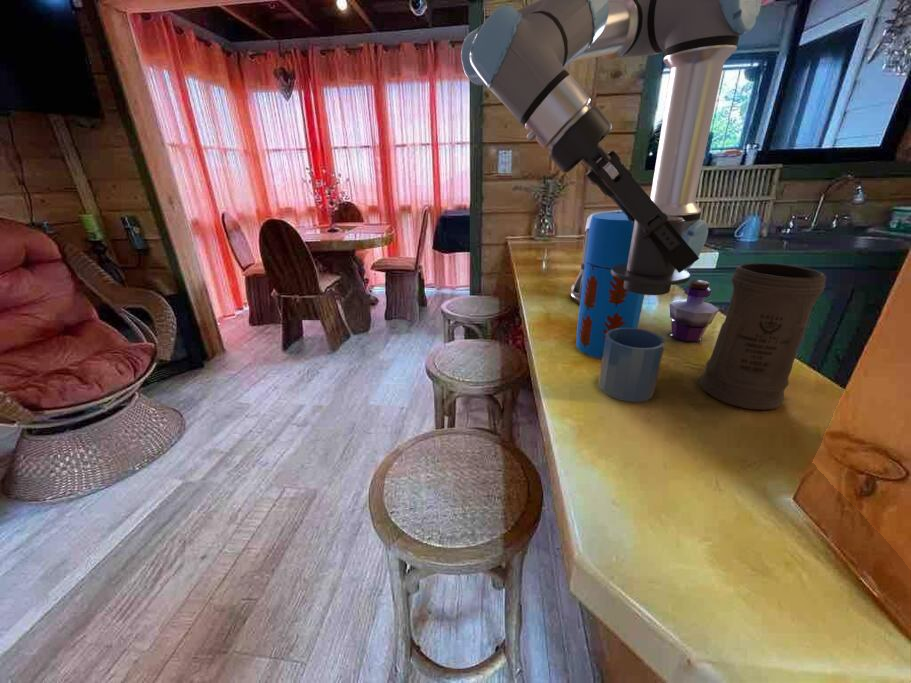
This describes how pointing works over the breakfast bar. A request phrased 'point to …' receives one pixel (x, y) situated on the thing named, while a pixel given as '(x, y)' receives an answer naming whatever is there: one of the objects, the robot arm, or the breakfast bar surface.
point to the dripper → (649, 264)
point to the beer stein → (761, 334)
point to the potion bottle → (692, 313)
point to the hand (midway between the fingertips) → (680, 259)
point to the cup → (630, 363)
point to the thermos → (606, 284)
